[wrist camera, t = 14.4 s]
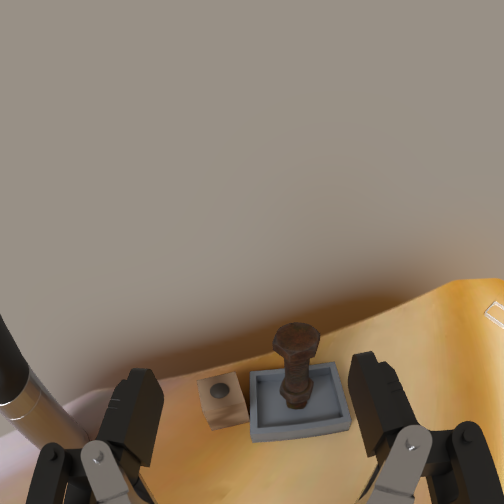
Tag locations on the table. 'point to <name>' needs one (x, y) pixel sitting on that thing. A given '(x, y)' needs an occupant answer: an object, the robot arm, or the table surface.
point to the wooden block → (222, 401)
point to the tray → (301, 420)
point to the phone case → (493, 317)
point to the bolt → (296, 361)
